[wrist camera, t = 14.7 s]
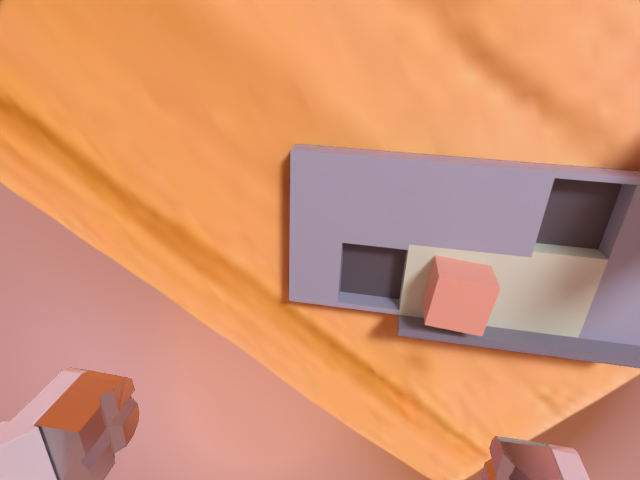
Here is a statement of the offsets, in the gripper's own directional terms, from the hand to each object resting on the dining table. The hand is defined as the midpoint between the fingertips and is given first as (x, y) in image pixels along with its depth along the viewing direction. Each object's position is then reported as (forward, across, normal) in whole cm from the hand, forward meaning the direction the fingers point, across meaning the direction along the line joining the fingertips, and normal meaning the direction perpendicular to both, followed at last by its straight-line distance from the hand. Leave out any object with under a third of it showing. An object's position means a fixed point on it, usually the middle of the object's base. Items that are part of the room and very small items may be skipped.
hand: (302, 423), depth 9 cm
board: (+27, -9, +7) cm, 29 cm away
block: (+25, -8, +10) cm, 28 cm away
